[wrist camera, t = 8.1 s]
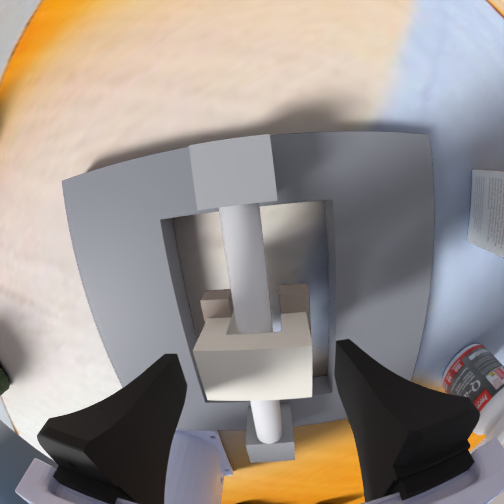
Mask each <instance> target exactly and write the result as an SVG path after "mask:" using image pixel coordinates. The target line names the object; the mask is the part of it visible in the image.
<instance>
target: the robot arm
mask: <svg viewBox="0 0 504 504" xmlns="http://www.w3.org/2000/svg"><path fill="white" fill-rule="evenodd" d="M334 376H335V381H336V385H337V389H338V393H339V396H340V399H341V401H342V404H343V407H344V409H345V412H346V415H347V417H348V420H349V423H350V425H351V428H352V431H353V434H354V438H355V442H356V447H357V451H358V456H359V462H360V467H361V473H362V480H363V487H364V496H365V503H361V504H488V503H490V502H491V501H492V500H493V499H494V498H496V497H497V496H498V495H499V494H500V493H502V492H503V491H504V448H503V446H502V445H501V443H500V442H499V440H498V439H497V437H496V438H493V439H492V440H490V441H489V442H487V443H486V444H484V445H482V446H481V447H479V448H478V449H476V450H475V451H474V452H473V453H472V454H470V453H469V451H468V449H469V448H470V444H469V442H468V440H467V439H468V438H469V436H470V435H471V433H472V432H473V430H474V429H475V427H476V425H477V423H478V421H479V418H480V412H479V410H478V409H477V407H476V406H475V405H474V403H473V402H472V401H471V399H470V398H469V397H464V396H457V395H451V394H446V393H442V392H438V391H435V390H432V389H428V388H426V387H423V386H420V385H418V384H415V383H413V382H411V381H409V380H407V379H405V378H403V377H401V376H399V375H397V374H395V373H394V372H392V371H390V370H389V369H387V368H386V367H384V366H383V365H381V364H380V363H378V362H377V361H376V360H374V359H373V358H372V357H371V356H369V355H368V354H367V353H366V352H364V351H363V350H362V349H361V348H359V347H358V346H357V345H356V344H355V343H354V342H352V341H351V340H350V339H344V340H338V341H336V351H335V369H334ZM187 386H188V385H187V382H186V379H185V377H184V374H183V371H182V367H181V364H180V361H179V358H178V355H177V354H164V355H163V356H161V357H160V358H159V359H158V360H157V361H156V362H154V363H153V364H152V365H151V366H150V367H149V368H147V369H146V370H145V371H144V372H143V373H142V374H140V375H139V376H138V377H137V378H135V379H134V380H133V381H131V382H130V383H129V384H127V385H126V386H125V387H123V388H122V389H121V390H119V391H118V392H116V393H115V394H113V395H111V396H109V397H108V398H106V399H104V400H102V401H100V402H98V403H96V404H94V405H92V406H90V407H87V408H85V409H82V410H80V411H77V412H74V413H70V414H67V415H63V416H58V417H54V418H49V419H48V421H47V422H46V423H45V425H44V426H43V428H42V429H41V431H40V432H39V434H38V435H37V439H38V441H39V443H40V445H41V446H42V447H43V449H44V450H45V451H46V452H47V453H48V454H49V455H50V457H51V458H52V459H53V460H54V461H55V462H56V463H57V464H58V465H59V466H58V468H57V470H56V469H55V468H54V467H52V466H50V465H48V464H46V463H44V462H43V461H41V460H39V459H37V458H34V460H33V462H32V463H31V465H30V467H29V468H28V470H27V471H26V473H25V474H24V476H23V478H22V479H21V481H20V483H19V485H18V486H17V488H16V490H15V492H16V493H17V494H18V495H19V496H21V497H22V498H23V499H24V500H26V501H27V502H28V503H29V504H221V498H222V490H223V481H224V475H226V476H231V475H233V470H232V467H231V465H230V462H229V460H228V457H227V455H226V452H225V450H224V447H223V444H222V442H221V439H220V436H219V434H218V431H217V430H192V429H177V425H178V422H179V419H180V416H181V413H182V410H183V407H184V404H185V399H186V393H187Z"/></svg>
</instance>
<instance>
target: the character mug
mask: <svg viewBox="0 0 504 504" xmlns="http://www.w3.org/2000/svg"><path fill="white" fill-rule="evenodd" d="M9 386H10V383H9V381H8V378H7V376H6V375H5V373H4V372H3V370H2V369H1V368H0V395H2V394H3V393H4V392H5V391H6V390H8V389H9Z"/></svg>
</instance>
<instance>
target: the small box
mask: <svg viewBox="0 0 504 504" xmlns="http://www.w3.org/2000/svg"><path fill="white" fill-rule="evenodd" d="M467 241H468V242H469V243H472V244H474V245H476V246H479V247H481V248H483V249H486V250H488V251H490V252H492V253H494V254H496V255H499V256H501V257H503V258H504V171H488V170H476V169H473V170H472V191H471V207H470V217H469V226H468V234H467Z"/></svg>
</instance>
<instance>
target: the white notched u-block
mask: <svg viewBox="0 0 504 504" xmlns="http://www.w3.org/2000/svg"><path fill="white" fill-rule="evenodd" d="M279 298H280V310H281V332H270V333H255V334H238V331H237V325H236V319H235V313H234V307H233V300H232V294H231V289H224V290H209V291H205V293H204V295H203V296H202V298H201V300H200V303H201V307H202V312H203V317H204V321H205V325H204V327H203V329H202V332H201V334H200V336H199V338H198V340H197V342H196V344H195V347H194V349H193V354H194V357H195V361H196V364H197V368H198V371H199V374H200V378H201V381H202V384H203V387H204V391H205V394H206V397H207V400H216V401H260V400H282V399H296V398H308V397H312V341H311V323H310V296H309V289H308V285H307V283H298V284H287V285H279Z"/></svg>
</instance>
